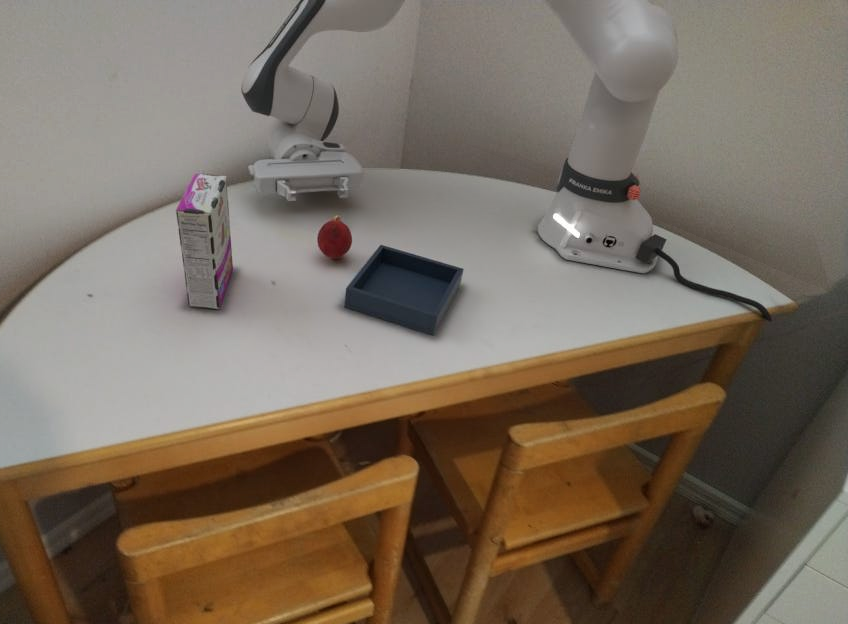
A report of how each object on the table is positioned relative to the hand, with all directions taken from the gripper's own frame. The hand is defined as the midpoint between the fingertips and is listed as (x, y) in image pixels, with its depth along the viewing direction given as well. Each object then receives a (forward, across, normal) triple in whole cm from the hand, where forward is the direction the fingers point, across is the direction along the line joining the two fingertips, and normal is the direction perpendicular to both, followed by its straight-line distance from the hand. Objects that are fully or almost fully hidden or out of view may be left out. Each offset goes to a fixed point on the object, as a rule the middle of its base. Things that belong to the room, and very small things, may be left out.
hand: (318, 195), depth 113 cm
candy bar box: (+16, -21, +6) cm, 27 cm away
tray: (+24, +8, +6) cm, 26 cm away
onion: (+11, 0, +6) cm, 13 cm away
